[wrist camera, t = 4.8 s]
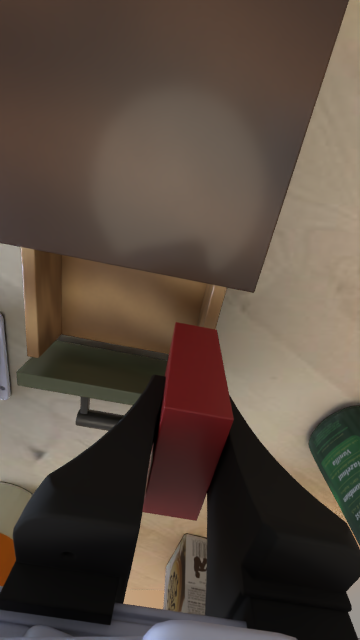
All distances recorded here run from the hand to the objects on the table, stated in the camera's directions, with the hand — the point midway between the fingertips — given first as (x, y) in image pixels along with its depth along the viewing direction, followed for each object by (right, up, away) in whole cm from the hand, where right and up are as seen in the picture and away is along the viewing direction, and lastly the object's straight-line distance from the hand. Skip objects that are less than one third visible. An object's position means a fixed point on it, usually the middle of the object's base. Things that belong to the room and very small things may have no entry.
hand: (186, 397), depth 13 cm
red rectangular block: (0, +1, +2) cm, 2 cm away
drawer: (-4, +4, +9) cm, 11 cm away
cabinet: (-2, +16, +4) cm, 16 cm away
